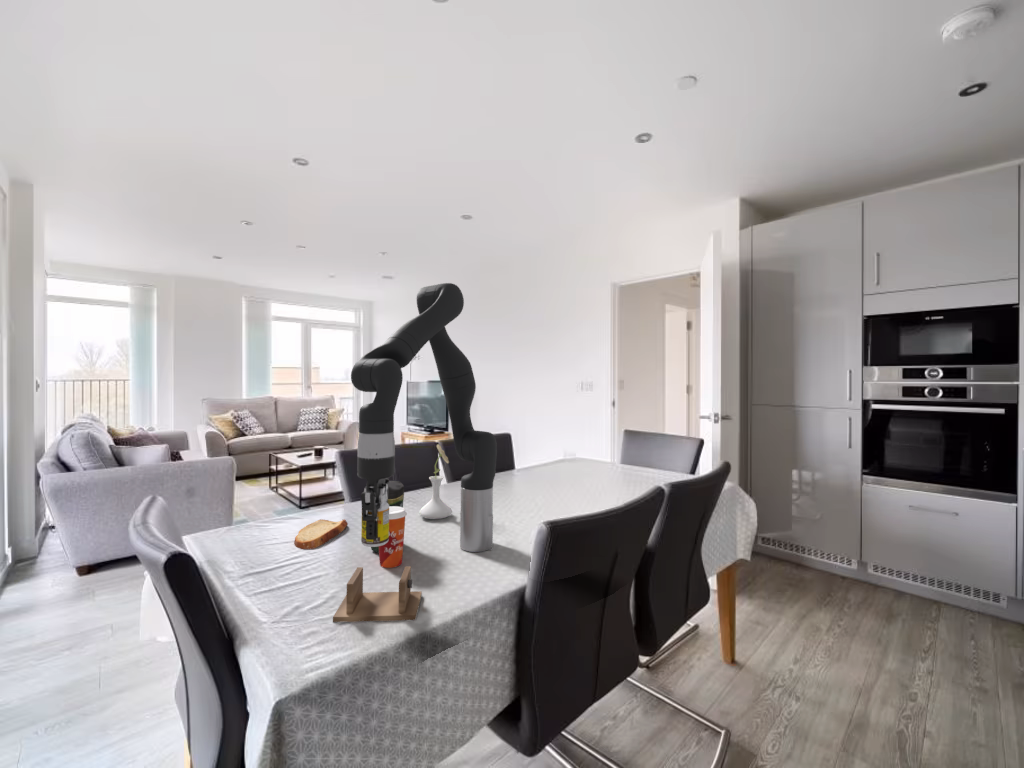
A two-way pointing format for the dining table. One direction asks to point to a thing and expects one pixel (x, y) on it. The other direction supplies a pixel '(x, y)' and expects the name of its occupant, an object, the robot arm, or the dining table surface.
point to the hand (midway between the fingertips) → (375, 533)
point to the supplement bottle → (382, 527)
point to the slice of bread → (318, 533)
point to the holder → (378, 601)
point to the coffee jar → (394, 498)
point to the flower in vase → (436, 496)
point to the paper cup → (393, 539)
